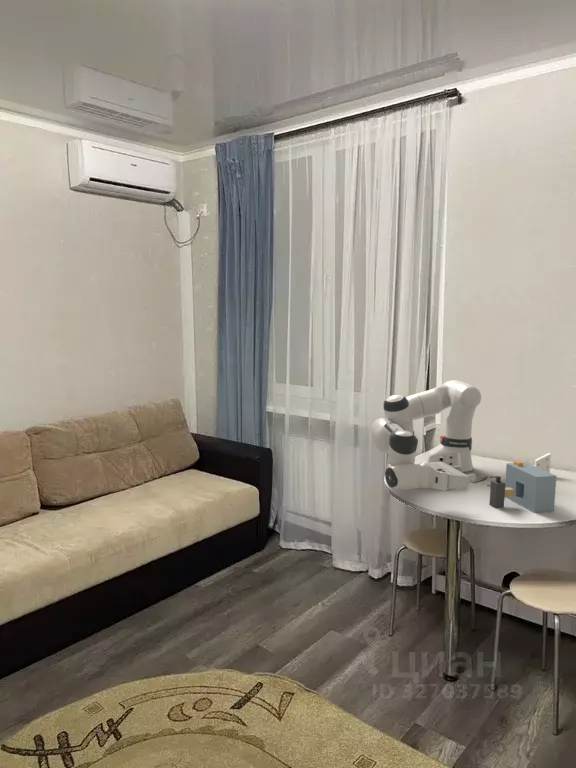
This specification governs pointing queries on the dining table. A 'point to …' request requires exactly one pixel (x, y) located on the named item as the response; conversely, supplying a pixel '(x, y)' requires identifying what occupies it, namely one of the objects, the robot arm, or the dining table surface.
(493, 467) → the dining table surface
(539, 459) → the white wedge bracket
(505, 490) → the plug
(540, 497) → the socket
